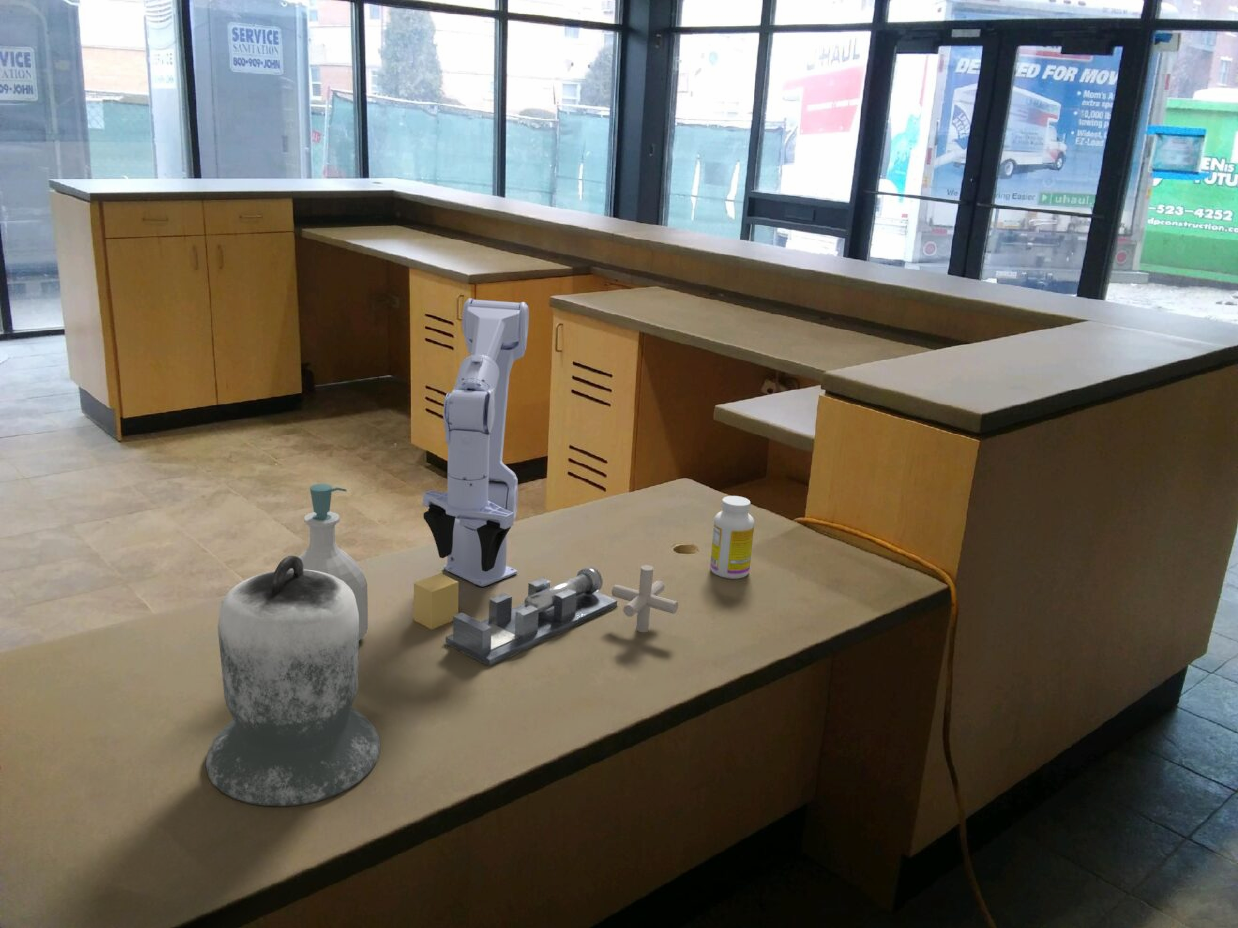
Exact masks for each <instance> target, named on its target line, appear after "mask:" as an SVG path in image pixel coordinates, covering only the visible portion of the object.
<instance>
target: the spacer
mask: <svg viewBox="0 0 1238 928" xmlns="http://www.w3.org/2000/svg"><path fill="white" fill-rule="evenodd" d="M457 614H459V581H457V580H455V579H454V578H451V577H449V576H447V575H445V574H442V573H441V572H440V573H437V574H435V575H432V576H429V577H427V578H423V579H422V580H418V581H416V582H413V620H414V622H417V623H418V624H420V625H423V626H424V627H427V628H428V629H430V630H434V629H436V628H440V627H441V626H443V625H446V624H449V623H450V622H453V616H455V615H457Z"/></svg>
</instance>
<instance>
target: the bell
mask: <svg viewBox="0 0 1238 928" xmlns="http://www.w3.org/2000/svg"><path fill="white" fill-rule="evenodd" d="M291 568H292V569H291ZM289 569H291V570H289ZM219 608H220V609H219V616H218V623H217V633H218V644H219V654H220V665H221V667H220V668H221V675H222V684H223V685H222V687H223V695H224V696H223V697H224V701H225V704H226V705H225V706H226V707H227V709H228V710H229V713H231V716H232V718H233V719H232V720H231V721H230V722H229V723H228V724H226V725H225V726H224V728H223V729H222V730H221V731H220V732H218V734H217V735H216V736H215V737H214V739H213V740H212V742H211V744H210V747H209V748H208V750H207V755H206V761H205V766H206V772H207V776H208V777H209V779H210V781H211V783H212V784H213V786H214V787H215V788H217V789H218V791H220V792H221V793H222V794H225V795H226V796H228V797H230V798H232V799H234V800H237V801H239V802H243V803H246V804H249V805H256V806H263V807H290V806H291V807H292V806H300V805H301V806H302V805H307V804H312V803H315V802H320V801H322V800H326V799H329V798H331V797H335V796H337V795H339V794H341V793H342V792H345V791H347V790H349V789H351V788H352V787H354V786H355V785H357V784H358V783H359V782H361V781H362V780H363V779H364V778H365V777H366V776H367V775H369V773H370V772H371V771H372V770H373V768H374V767H375V765H376V763H377V762H378V759H379V756H380V752H381V745H380V741H381V740H380V737H379V733H378V732H377V729H376V727H375V726H374V725H373V724H372V723H371V721H370V719H368V718H367V717H366V716H364V714H362V713H361V712H359V711H358V710H356V709H355V708H353V707H352V705H353V703H354V700H355V698H356V695H357V692H358V690H359V689H358V688H359V643H360V642H359V641H360V640H359V613H358V608H357V604H356V599H355V595H354V593H353V591H352V590H351V588H350V587H349V586H348V585H347V584H346V583H345V582H344V581H342V580H340V579H338V578H337V577H335V576H333V575H330V574H327V573H324V572H319V571H313V570H303V563H302V560H301V559H300V558H299V557H298V556H297V555H289V556H285V557H284V558H283V559H282V560H281V561H280V562H279V563H278V565H277V567H276V568H275V570H273V571H268V572H264V573H260V574H257V575H253V576H251V577H249V578H246V579H245V580H242V581H240V582H239V583H237V584H236V585H235V586H233V587H232V588H231V589H230V590H229V591H228V592H226V595H225V596H224V598H223V600H222V601H221V603H220V607H219Z"/></svg>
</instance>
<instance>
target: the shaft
mask: <svg viewBox="0 0 1238 928" xmlns="http://www.w3.org/2000/svg"><path fill="white" fill-rule="evenodd" d="M602 587H603V577H602V574H601V573H600V571H599V570H598V569H597V568H596V567H593V566H587V567H585V568H582V569H580V570H579V571H578V572H577V574H576V576H574V577H571V578H569V579H566V580H564V581H561V582H560V583H556V584H554V585H552V586H550V588H547V589H545V590H543V591H540V592H538V593H536V594H533V595H531V596H528V595H527V596H526V597H525V599H524V602H523V604H524V605H525V607H528V606H530V605H531V606H533V607H535V608H538V609H539V612H538V613H540V612H542V611H544V610H547V609H549V608H551V607H553V606H554V599H555V595H556V594H558V593H560V592H562V591H565V590H567V589H570V590H572V591H575V592H577V593H576V596H578V595H580V594H583V593H585V594H588V595H589V594H592V593H595V592H599V591H600V590H601V589H602Z"/></svg>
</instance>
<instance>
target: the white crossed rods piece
mask: <svg viewBox="0 0 1238 928" xmlns="http://www.w3.org/2000/svg"><path fill="white" fill-rule="evenodd" d="M653 575H654V567H653V566H652V565H649V564H648V565H647V564H644V565H641V566H640V573H639V585H638V586H639V587H638V590H637V589H633V588H630V587H627V586H623V585H619V584H614V585H613V587H612V590H611V596H612V597H614V598H618V599H621V600H624V601H628V603H627V604H626V605H624V606H623V607H622V608H623V609H622V610H623V613H624V615H625V616H626V617H628V618H629V617H630V618H631V617H633V616H635V614H636V615H637V616H636V625H635V627H636V628H635V630H636V631H637V632H639V633H647V632H648V631H649V627H650V612H651V608H652V609H655V610H659V611H663V612H666V613H669V614H673V615H674V614H676V613H677V610H678V609H679V608H678V607H679V603H678V601H676V600H672V599H668V598H665V597H662V596H658V595H660V594H661V593H662V592H663V591H664V590H665V584H664V583H663V581H661V580H656V581H655V582H653V579H654V578H653V577H654V576H653Z"/></svg>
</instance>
